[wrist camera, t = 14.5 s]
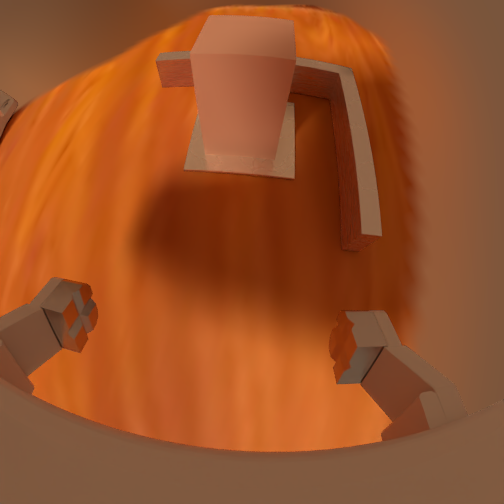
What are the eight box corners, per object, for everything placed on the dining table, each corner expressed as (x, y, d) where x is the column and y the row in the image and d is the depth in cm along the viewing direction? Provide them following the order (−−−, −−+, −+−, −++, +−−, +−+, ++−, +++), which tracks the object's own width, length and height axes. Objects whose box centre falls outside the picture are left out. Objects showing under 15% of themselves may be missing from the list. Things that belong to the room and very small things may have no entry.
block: (205, 154, 17) (189, 54, 9) (215, 107, 18) (209, 15, 10) (274, 159, 17) (296, 60, 9) (276, 111, 18) (293, 20, 10)
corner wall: (359, 251, 16) (382, 236, 13) (115, 229, 15) (93, 211, 12) (341, 93, 19) (351, 68, 17) (166, 78, 19) (160, 53, 16)
